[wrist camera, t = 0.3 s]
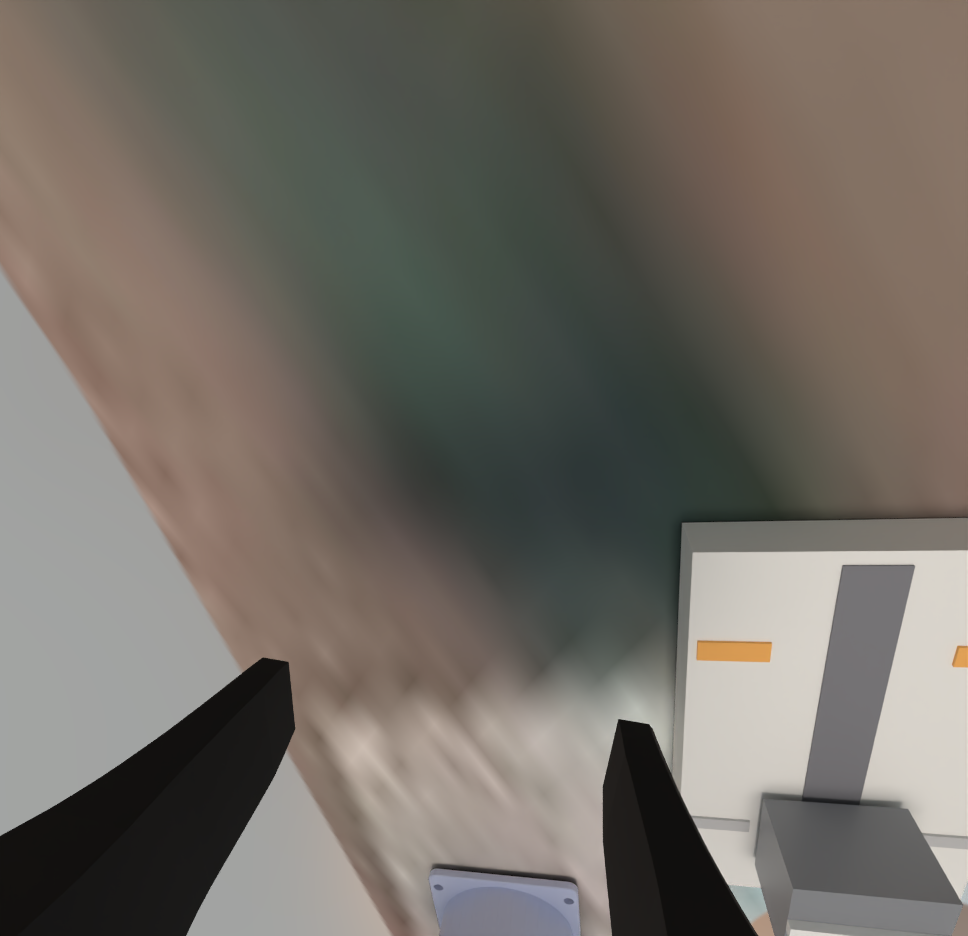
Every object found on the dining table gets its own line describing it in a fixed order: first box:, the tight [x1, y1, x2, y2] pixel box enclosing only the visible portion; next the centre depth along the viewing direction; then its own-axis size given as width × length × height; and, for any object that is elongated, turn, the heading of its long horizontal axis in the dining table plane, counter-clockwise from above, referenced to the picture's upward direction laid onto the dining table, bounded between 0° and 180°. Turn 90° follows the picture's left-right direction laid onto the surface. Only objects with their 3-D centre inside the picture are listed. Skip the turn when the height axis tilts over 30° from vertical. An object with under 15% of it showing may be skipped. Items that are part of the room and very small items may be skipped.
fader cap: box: [755, 799, 963, 936], centre depth 20 cm, size 4×5×4 cm
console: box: [672, 518, 968, 900], centre depth 21 cm, size 17×11×2 cm, turn 6°
